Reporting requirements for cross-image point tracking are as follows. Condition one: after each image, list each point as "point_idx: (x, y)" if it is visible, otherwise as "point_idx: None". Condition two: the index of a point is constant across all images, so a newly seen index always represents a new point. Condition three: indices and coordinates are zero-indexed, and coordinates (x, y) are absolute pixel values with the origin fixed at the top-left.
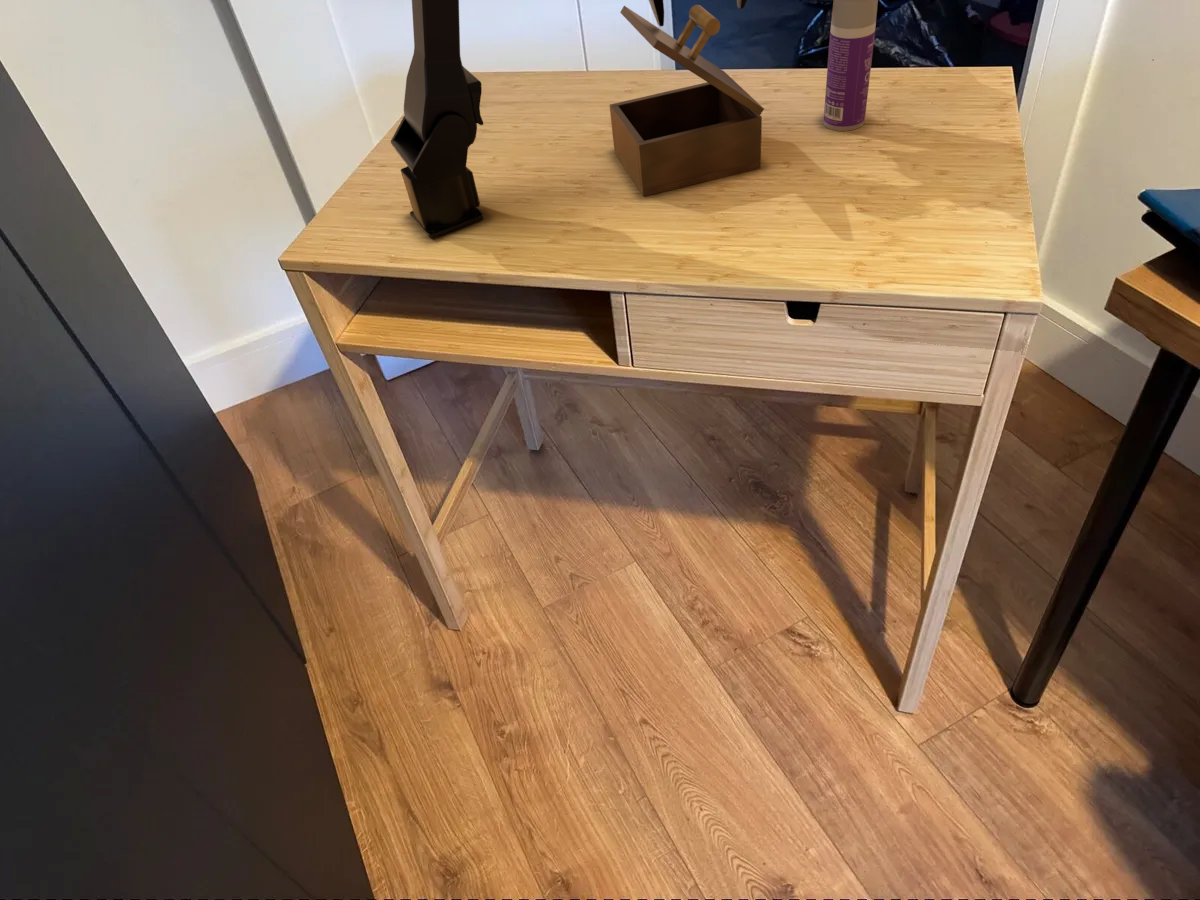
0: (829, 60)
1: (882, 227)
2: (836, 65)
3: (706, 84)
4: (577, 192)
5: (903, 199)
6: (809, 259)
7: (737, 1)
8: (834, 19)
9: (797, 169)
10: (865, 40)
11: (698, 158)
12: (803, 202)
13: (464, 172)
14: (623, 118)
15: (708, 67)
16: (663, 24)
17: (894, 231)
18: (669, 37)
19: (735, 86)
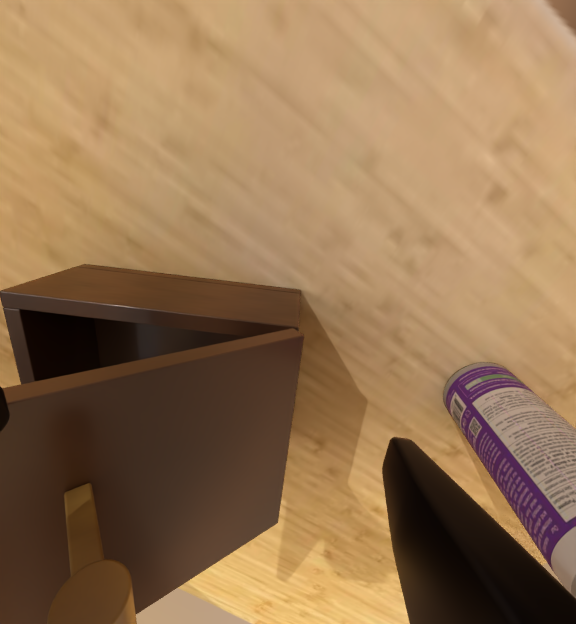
0: (513, 476)
1: (323, 580)
2: (505, 494)
3: (249, 334)
4: (8, 351)
5: (378, 560)
6: (232, 582)
7: (396, 457)
8: None
9: (323, 461)
10: None
11: None
12: (283, 517)
13: None
14: (25, 376)
15: (172, 516)
16: (3, 427)
17: (328, 589)
18: (40, 470)
19: (242, 502)
